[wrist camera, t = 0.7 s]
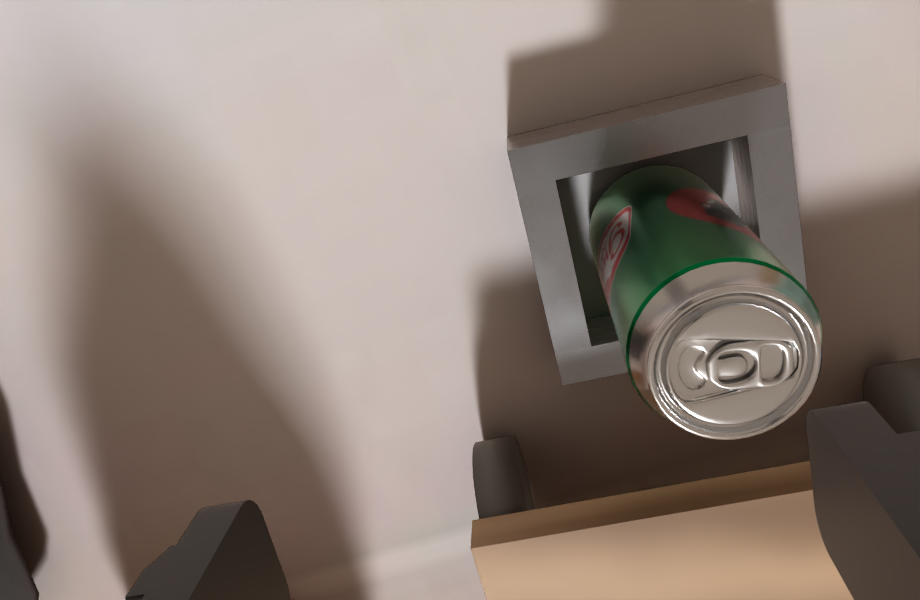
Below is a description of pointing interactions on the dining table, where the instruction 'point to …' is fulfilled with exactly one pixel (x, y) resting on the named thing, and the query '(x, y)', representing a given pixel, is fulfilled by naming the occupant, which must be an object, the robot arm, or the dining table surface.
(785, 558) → the trolley
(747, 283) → the soda can
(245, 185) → the dining table surface
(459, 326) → the dining table surface
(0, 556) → the casserole
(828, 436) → the robot arm
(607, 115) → the frame
